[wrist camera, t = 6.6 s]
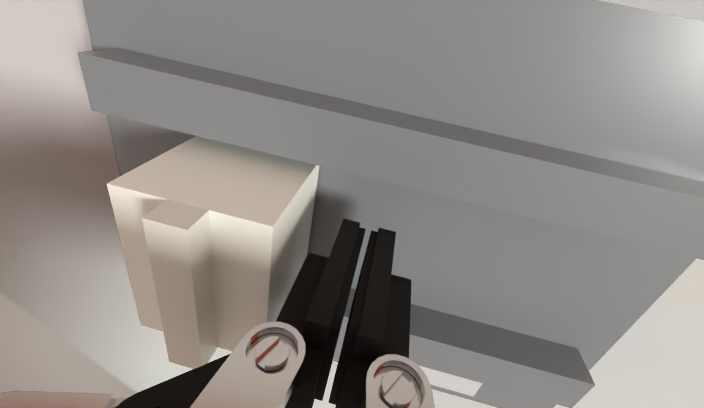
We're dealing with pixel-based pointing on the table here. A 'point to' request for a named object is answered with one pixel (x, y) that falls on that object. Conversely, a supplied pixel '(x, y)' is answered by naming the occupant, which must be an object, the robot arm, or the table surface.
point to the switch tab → (212, 241)
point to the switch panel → (448, 155)
